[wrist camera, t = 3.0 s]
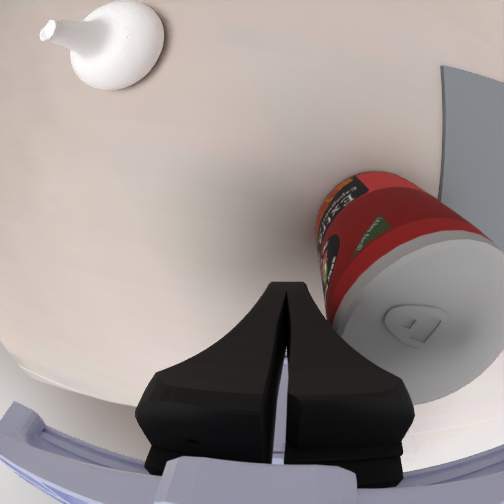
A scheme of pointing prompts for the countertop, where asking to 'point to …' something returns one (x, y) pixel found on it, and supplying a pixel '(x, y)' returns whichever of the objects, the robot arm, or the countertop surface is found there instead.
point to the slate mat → (473, 150)
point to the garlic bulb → (111, 43)
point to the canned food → (410, 283)
